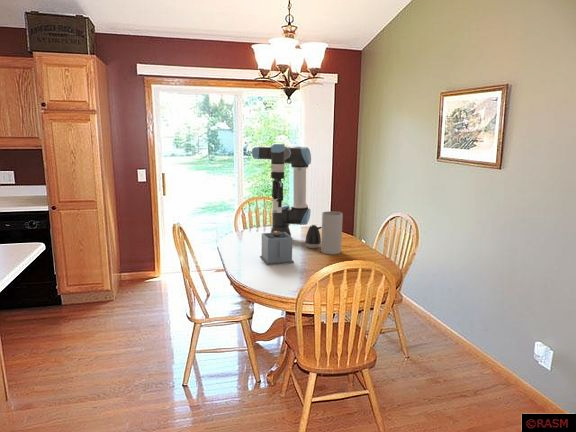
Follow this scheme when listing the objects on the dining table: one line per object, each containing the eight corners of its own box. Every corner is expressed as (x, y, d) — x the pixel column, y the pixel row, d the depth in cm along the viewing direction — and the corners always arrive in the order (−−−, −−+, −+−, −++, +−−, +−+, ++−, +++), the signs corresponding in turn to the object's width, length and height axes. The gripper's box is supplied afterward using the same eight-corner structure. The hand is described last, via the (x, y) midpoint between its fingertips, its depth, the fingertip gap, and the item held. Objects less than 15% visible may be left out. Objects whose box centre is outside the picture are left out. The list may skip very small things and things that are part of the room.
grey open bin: (259, 257, 247) (260, 233, 244) (285, 255, 252) (285, 231, 249) (267, 266, 230) (267, 240, 227) (294, 263, 235) (295, 238, 232)
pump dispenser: (320, 250, 264) (320, 227, 261) (304, 249, 266) (304, 226, 263) (322, 246, 274) (322, 223, 271) (306, 245, 276) (307, 222, 273)
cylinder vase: (320, 249, 266) (321, 211, 261) (340, 249, 266) (341, 211, 261) (321, 254, 254) (322, 214, 249) (341, 255, 254) (343, 215, 249)
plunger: (264, 251, 245) (264, 230, 242) (283, 250, 248) (283, 229, 246) (269, 257, 234) (269, 234, 231) (289, 255, 237) (289, 233, 235)
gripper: (266, 169, 240) (266, 208, 245) (276, 173, 222) (275, 214, 226) (279, 169, 242) (278, 208, 247) (289, 172, 224) (288, 214, 228)
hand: (277, 211), depth 236 cm, fingers open, 7 cm apart
